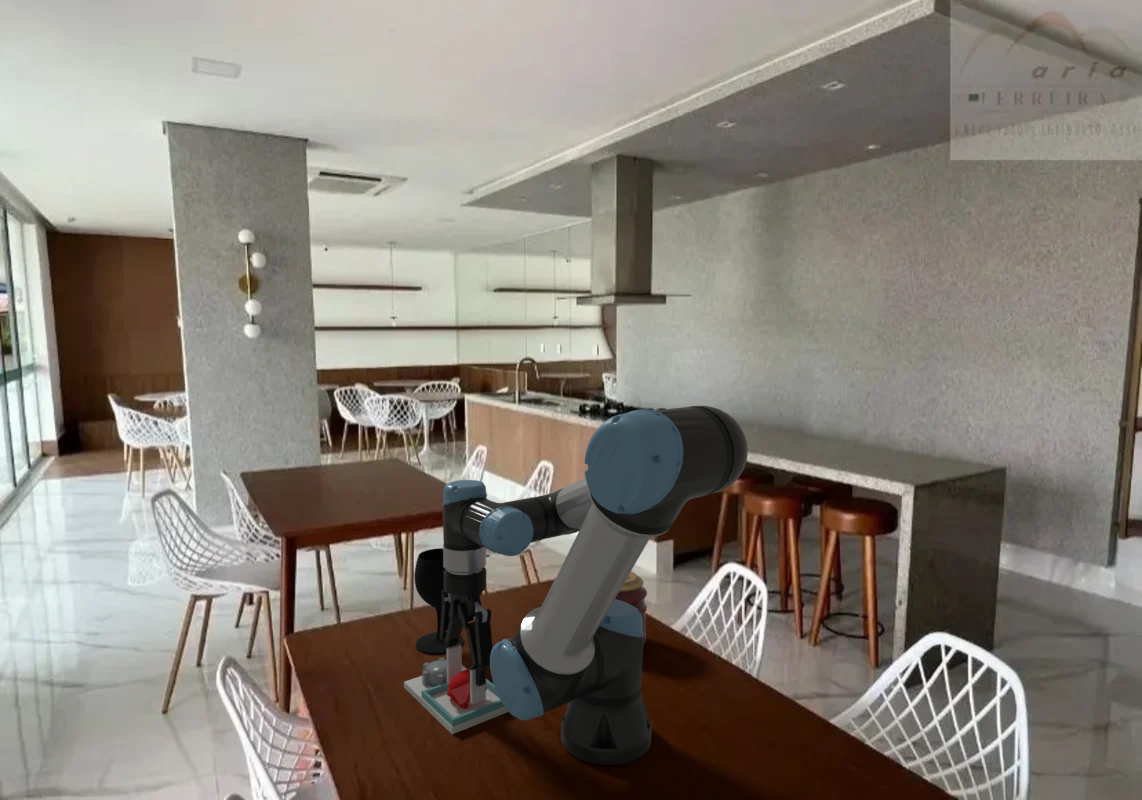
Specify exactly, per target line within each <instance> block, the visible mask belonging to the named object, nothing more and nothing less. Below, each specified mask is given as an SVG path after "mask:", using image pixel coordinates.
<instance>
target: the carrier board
mask: <svg viewBox="0 0 1142 800" xmlns="http://www.w3.org/2000/svg"><path fill="white" fill-rule="evenodd" d="M466 669H468V668H467V667H465V666H464V665H463V664H462V671H463V670H466ZM486 686H487V690H486V699H485V700H482V701H479V702H477V703H474V704H472V703H470V700H469V702H468V708H467V709H465V708H461V707H460V706H459V705H458V704H456V703H455V702H454V701H453V700H452V699H451V697H450V696H448V695H447V692H448V683H447V659H445V657H439V658H438V660H434V661H431V662H427V661H426V662H425V663H423V664H422V671H421V675H420V676H417V677H414V678H411V679H408V680H405V681H403V688H404V689H405V690H406V691H407V693H409V694H410V695H411V696H412V697H413V698H414V699H415V700H416V701H417V702H418V703H420V705H421V706H422V707H423V708H425V710H427V712H429V714H431V716H433V717H434V719H436V720H437V721H438V722H439V723H440V724H441V725H442V726H443V727H444V728H445V729H446V730H447V731H448V732H449V733H450V734H451V735H454V734H456V733H459V732H462V731H464V730H467V729H470V728H472V727H474V726H477V725H479V724H481V723H484V722H487V721H490V720H491V719H494V718H496V717H499V716H501V715H504V714H507V713H509V711H508V710H507V709H506V708H505V706H504V705H503V703H502V702H501V700H500V698H499V696H498V694H497V691H496V689H495V686H494V683H493V682H491V681H490V680H488V679H487V678H486Z"/></svg>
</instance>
